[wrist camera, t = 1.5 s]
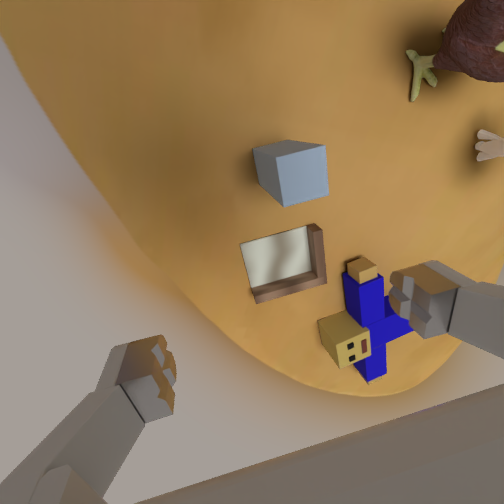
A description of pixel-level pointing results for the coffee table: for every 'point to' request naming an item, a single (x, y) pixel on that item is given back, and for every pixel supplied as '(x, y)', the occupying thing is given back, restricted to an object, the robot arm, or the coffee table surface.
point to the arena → (285, 262)
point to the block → (292, 171)
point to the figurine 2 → (489, 146)
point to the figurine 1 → (467, 45)
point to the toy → (362, 323)
